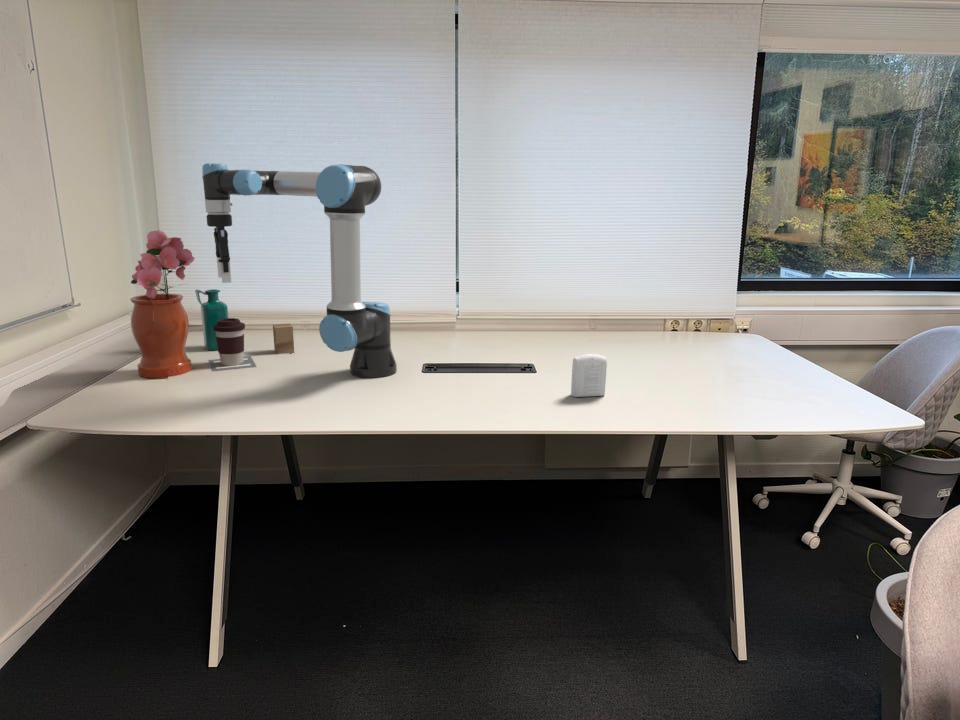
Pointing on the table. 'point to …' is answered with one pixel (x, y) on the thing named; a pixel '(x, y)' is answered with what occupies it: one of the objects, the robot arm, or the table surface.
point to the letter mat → (217, 366)
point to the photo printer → (588, 375)
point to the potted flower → (161, 309)
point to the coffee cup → (230, 341)
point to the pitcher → (211, 316)
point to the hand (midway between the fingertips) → (224, 280)
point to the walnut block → (283, 338)
